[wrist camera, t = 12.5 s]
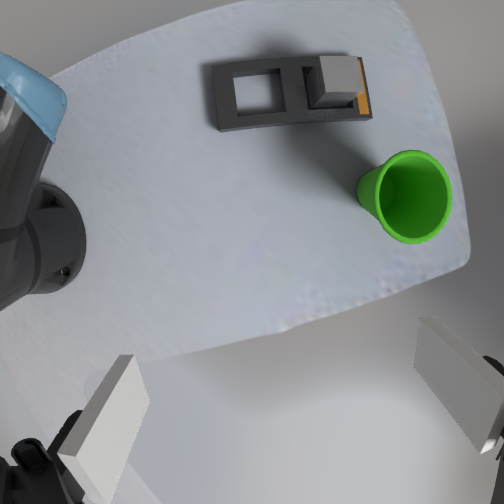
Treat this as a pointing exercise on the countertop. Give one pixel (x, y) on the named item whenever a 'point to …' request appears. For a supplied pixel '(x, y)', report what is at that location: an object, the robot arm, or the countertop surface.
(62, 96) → the robot arm
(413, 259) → the countertop surface
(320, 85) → the gray squarish block
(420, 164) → the cup
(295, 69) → the dark grey flat frame
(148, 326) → the countertop surface
